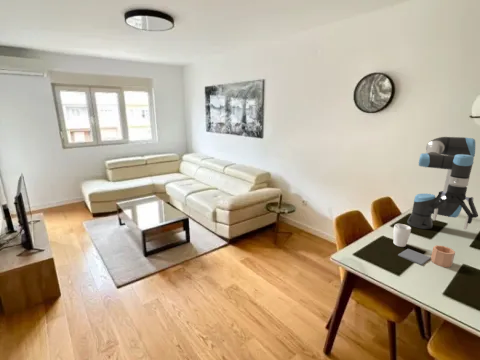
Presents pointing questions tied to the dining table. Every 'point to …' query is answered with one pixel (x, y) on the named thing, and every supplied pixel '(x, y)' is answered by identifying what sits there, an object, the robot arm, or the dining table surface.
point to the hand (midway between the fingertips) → (449, 224)
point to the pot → (442, 256)
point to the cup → (401, 234)
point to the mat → (414, 256)
